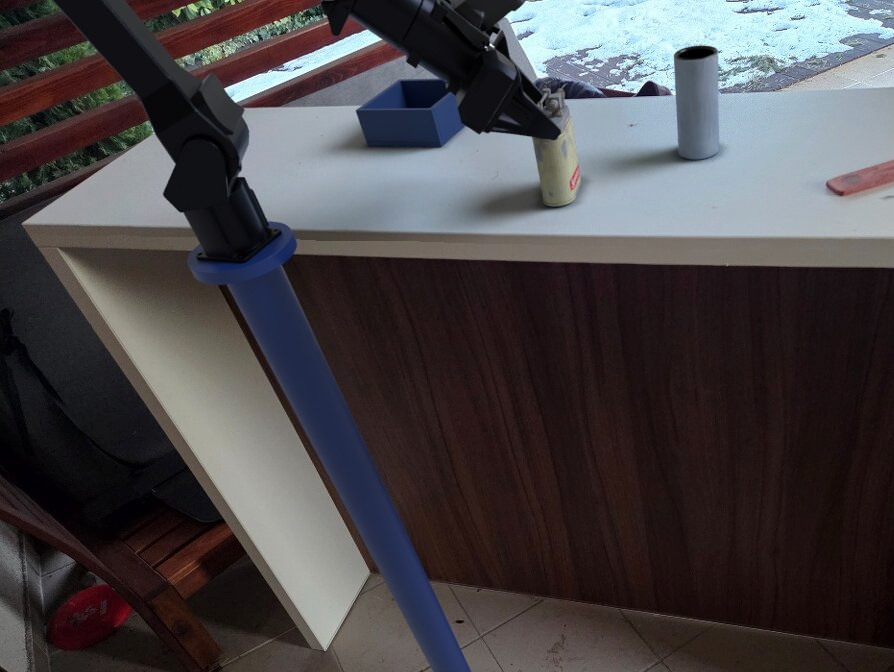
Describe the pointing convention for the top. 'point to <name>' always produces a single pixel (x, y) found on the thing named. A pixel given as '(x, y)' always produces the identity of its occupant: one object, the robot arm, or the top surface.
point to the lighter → (557, 154)
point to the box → (411, 115)
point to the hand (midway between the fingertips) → (551, 119)
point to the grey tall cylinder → (697, 101)
